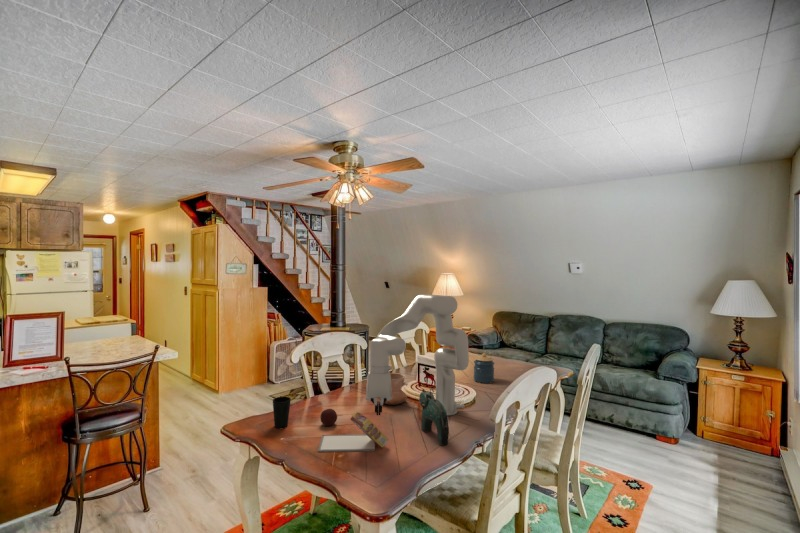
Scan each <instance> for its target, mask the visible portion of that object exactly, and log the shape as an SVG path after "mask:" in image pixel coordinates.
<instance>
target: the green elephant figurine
mask: <svg viewBox="0 0 800 533" xmlns="http://www.w3.org/2000/svg"><path fill="white" fill-rule="evenodd" d="M433 393H435V391H434V388H432V387H431V388H430V390H429V391H426V390H425V389H424V388H422V390H421V392H420V394H419V396H418V397H419V398H418V399H419V400H418V402H419V405H420V406H421V408H422V410H421V419H420V421H421V431H423V432H424V433H428V432H432V428H433V427H432V426H433V423H434V425H435V427H436V433H437V439H438V440H437V441H438V445H440V446H441V445H442V447H443V445H444V446H448V444H449V434H450V428H449V418H448V416H447V413H446V410H445V408H444V406H443V404H442V403H441V402H440V401H438V400H436V398H435V395H434V394H433Z"/></svg>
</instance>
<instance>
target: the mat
mask: <svg viewBox="0 0 800 533" xmlns="http://www.w3.org/2000/svg"><path fill="white" fill-rule="evenodd" d="M375 443H376V442H374V441H373V440H372V439H370V438H369V437H368V436H367V435H366V434H365V433H363V434H359V433H358V434H322V435H321V439H320V443H319V446H318V449H317V452H318V453H324V452H326V453H327V452H328V453H331V452H332V453H333V452H335V453H336V452H374V451H375V450H376V444H375Z"/></svg>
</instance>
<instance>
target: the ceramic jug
mask: <svg viewBox="0 0 800 533" xmlns="http://www.w3.org/2000/svg"><path fill="white" fill-rule="evenodd" d="M390 375H391V397H392V399H391V400H388V401H386V402H385V403H384V404H386V405H390V406H393V405H394V406H395V405H401V404H402V403H404V402H405V401H407V398H408V396H407V394H406V392H405V391H403V390H402V387H404V386H406V387H407V386H408V385H409V383H408V382H404V381H405V374H402V373H398V372H396V373H395V372H390ZM378 399H379V400H380V399H381V398H378Z"/></svg>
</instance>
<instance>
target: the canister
mask: <svg viewBox="0 0 800 533" xmlns="http://www.w3.org/2000/svg"><path fill="white" fill-rule="evenodd" d="M474 359H475V360H474V361H473V363H474V365H473V381H474V380H475V381H474V382H476V381H477V382H476V383H479V382H482V383H481V384H491V383H490V382H492V383H494V382H495V362H494V358H492V357H491V356H489V355H487V354H486V353H485V352H484V353H482V354H481V355H478V356H476V357H475V358H474ZM493 381H494V382H493Z"/></svg>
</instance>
